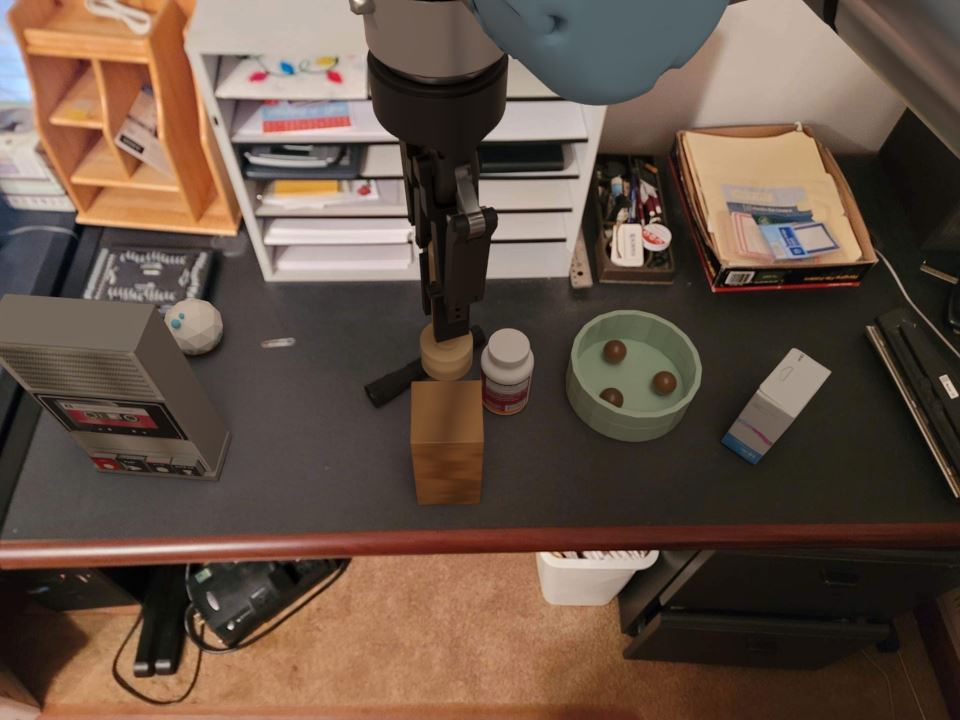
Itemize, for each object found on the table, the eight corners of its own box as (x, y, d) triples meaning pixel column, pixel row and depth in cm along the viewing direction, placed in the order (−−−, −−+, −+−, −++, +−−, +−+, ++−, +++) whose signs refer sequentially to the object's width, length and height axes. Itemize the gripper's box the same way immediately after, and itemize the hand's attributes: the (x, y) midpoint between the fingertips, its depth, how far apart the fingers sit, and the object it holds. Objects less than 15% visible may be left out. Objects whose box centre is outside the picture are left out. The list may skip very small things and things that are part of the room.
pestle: (477, 375, 60) (482, 264, 48) (427, 385, 59) (419, 275, 47) (465, 335, 62) (466, 220, 50) (417, 344, 61) (407, 229, 50)
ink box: (755, 468, 82) (795, 418, 72) (719, 442, 84) (753, 390, 74) (791, 422, 86) (834, 369, 76) (755, 398, 87) (792, 343, 78)
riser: (477, 448, 83) (481, 379, 70) (480, 503, 79) (484, 441, 66) (418, 449, 82) (411, 381, 70) (417, 505, 78) (410, 443, 66)
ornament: (179, 323, 92) (157, 283, 85) (234, 321, 92) (216, 282, 85) (169, 366, 88) (145, 328, 81) (226, 364, 88) (207, 326, 82)
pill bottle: (491, 367, 89) (495, 314, 80) (536, 385, 88) (545, 333, 79) (470, 405, 86) (472, 354, 77) (516, 424, 84) (524, 375, 75)
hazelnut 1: (628, 364, 89) (633, 350, 86) (607, 370, 88) (611, 357, 86) (617, 345, 90) (622, 332, 88) (597, 352, 90) (600, 338, 87)
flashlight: (365, 394, 86) (362, 381, 84) (472, 332, 92) (473, 318, 90) (378, 411, 85) (375, 399, 82) (486, 347, 91) (487, 334, 88)
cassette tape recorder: (97, 474, 79) (-30, 348, 59) (117, 427, 83) (3, 292, 62) (218, 484, 79) (133, 360, 58) (232, 436, 83) (157, 303, 62)
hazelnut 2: (625, 412, 85) (630, 400, 82) (603, 419, 84) (607, 407, 82) (614, 392, 86) (619, 379, 84) (592, 399, 86) (596, 386, 83)
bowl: (710, 420, 86) (726, 394, 81) (597, 458, 82) (606, 433, 77) (651, 325, 94) (662, 297, 89) (546, 356, 90) (551, 328, 85)
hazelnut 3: (677, 395, 86) (684, 382, 84) (656, 402, 86) (662, 389, 83) (666, 376, 88) (672, 363, 86) (644, 383, 87) (650, 370, 85)
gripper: (333, -15, 40) (374, 265, 59) (412, 150, 32) (430, 412, 51) (457, -35, 41) (458, 244, 61) (562, 118, 33) (525, 384, 53)
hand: (445, 321), depth 56 cm, fingers closed on pestle, 2 cm apart
